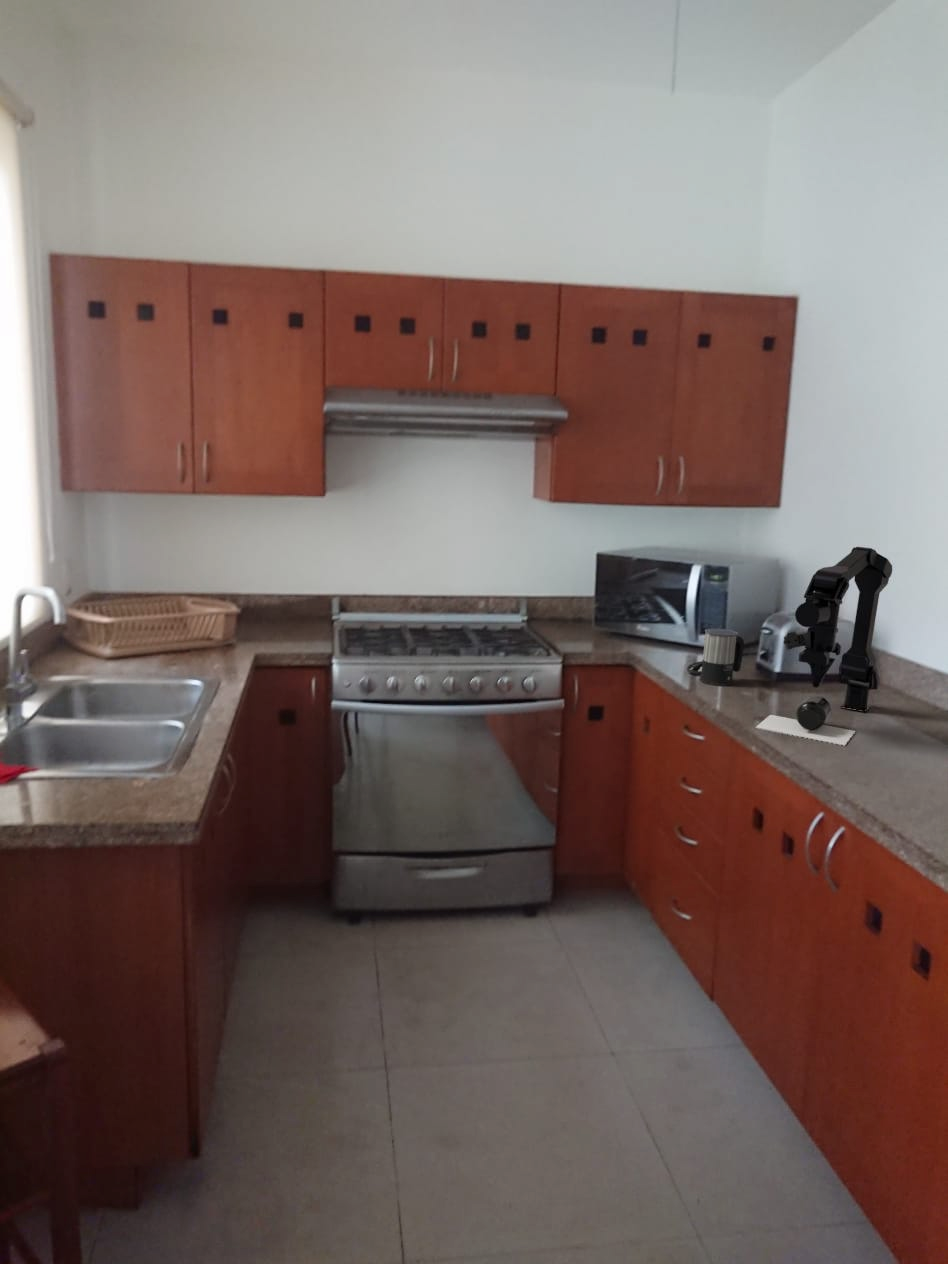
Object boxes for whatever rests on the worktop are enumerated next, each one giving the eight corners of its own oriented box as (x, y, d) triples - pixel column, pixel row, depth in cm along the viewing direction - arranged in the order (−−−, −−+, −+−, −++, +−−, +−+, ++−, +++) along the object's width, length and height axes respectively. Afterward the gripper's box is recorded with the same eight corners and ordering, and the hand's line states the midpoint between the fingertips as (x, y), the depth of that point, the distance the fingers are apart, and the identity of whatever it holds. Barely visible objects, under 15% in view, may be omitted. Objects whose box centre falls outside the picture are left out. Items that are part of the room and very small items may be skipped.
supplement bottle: (795, 705, 227) (786, 715, 216) (818, 689, 223) (810, 698, 213) (814, 727, 225) (806, 738, 215) (837, 711, 222) (830, 722, 212)
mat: (770, 715, 229) (770, 714, 229) (855, 732, 219) (855, 731, 219) (755, 728, 217) (755, 727, 217) (844, 746, 207) (844, 744, 207)
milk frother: (724, 688, 255) (730, 636, 252) (672, 677, 264) (677, 626, 262) (743, 680, 266) (750, 630, 263) (693, 669, 276) (698, 621, 273)
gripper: (798, 614, 230) (790, 674, 233) (780, 623, 214) (772, 688, 217) (845, 620, 224) (836, 682, 227) (830, 630, 209) (821, 696, 211)
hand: (815, 687), depth 221 cm, fingers closed
